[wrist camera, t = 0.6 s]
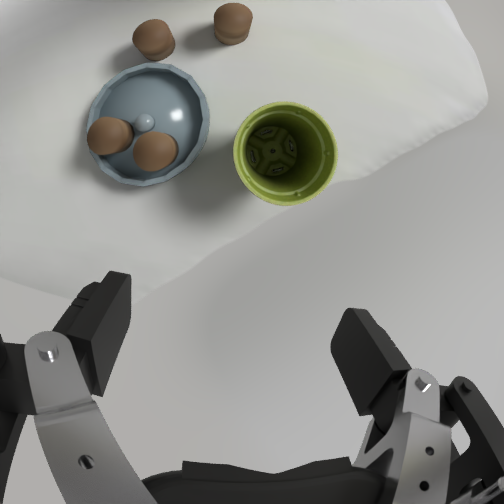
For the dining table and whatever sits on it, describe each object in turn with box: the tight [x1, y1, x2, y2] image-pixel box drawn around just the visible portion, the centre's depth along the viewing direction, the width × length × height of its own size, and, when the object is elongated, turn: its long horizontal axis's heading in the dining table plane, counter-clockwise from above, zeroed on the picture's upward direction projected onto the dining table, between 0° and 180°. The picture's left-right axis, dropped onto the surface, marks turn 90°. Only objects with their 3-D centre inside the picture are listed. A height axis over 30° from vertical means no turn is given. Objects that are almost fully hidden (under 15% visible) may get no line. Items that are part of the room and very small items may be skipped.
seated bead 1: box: [87, 117, 134, 155], centre depth 25 cm, size 4×4×4 cm
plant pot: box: [233, 102, 338, 206], centre depth 27 cm, size 9×9×9 cm
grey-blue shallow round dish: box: [86, 63, 210, 187], centre depth 27 cm, size 14×14×3 cm
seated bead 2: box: [133, 131, 179, 171], centre depth 27 cm, size 4×4×4 cm
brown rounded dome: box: [132, 19, 175, 61], centre depth 22 cm, size 4×4×4 cm
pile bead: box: [214, 3, 253, 45], centre depth 23 cm, size 4×4×4 cm
